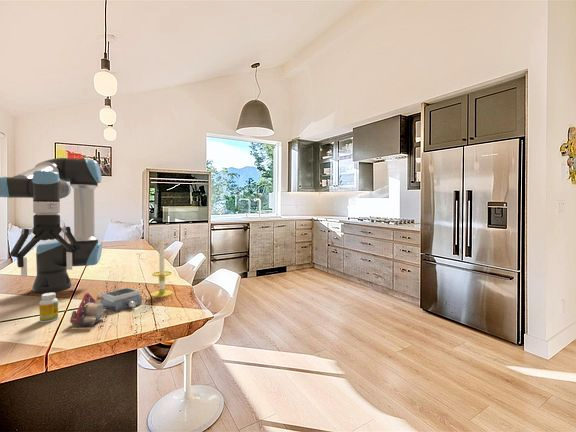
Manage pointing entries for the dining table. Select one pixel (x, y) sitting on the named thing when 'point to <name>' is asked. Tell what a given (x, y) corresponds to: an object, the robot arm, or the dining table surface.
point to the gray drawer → (121, 299)
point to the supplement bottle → (48, 307)
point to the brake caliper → (88, 312)
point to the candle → (161, 275)
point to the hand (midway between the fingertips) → (48, 272)
